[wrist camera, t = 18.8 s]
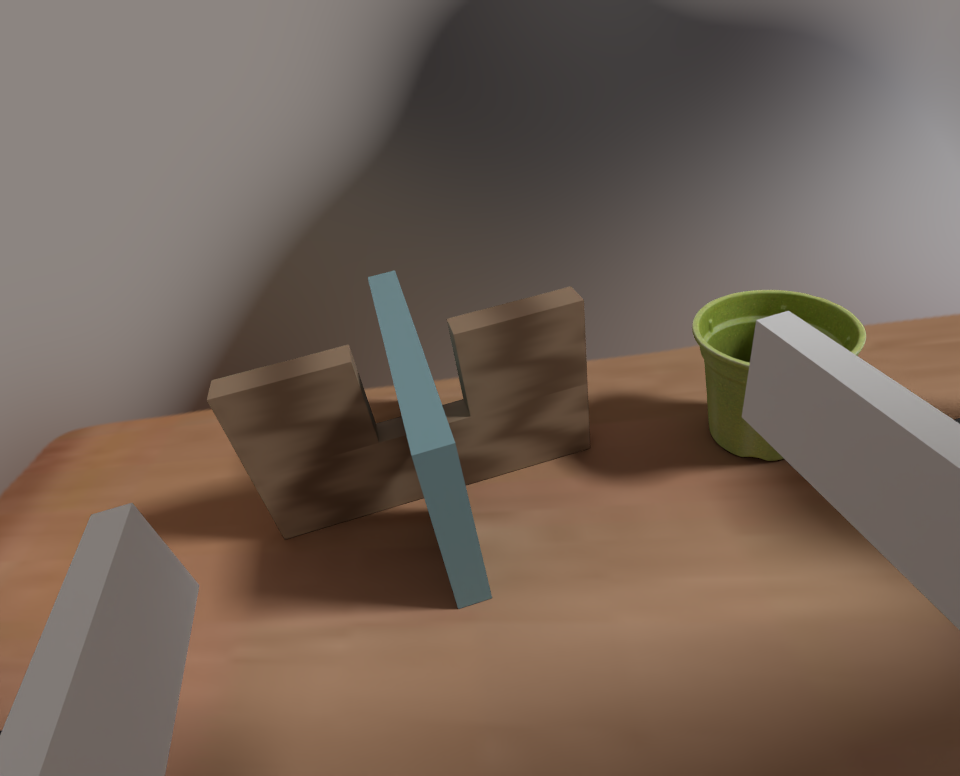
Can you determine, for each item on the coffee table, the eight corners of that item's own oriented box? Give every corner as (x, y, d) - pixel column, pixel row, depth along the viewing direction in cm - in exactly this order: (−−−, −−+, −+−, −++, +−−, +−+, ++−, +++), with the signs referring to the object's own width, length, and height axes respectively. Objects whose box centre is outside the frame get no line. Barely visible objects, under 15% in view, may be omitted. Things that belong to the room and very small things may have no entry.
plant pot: (655, 420, 42) (661, 319, 37) (754, 376, 44) (771, 275, 39) (755, 503, 35) (779, 391, 29) (866, 444, 37) (906, 331, 32)
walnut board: (579, 431, 42) (570, 286, 35) (590, 447, 40) (583, 300, 33) (285, 517, 39) (211, 380, 32) (284, 539, 38) (206, 400, 31)
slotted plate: (428, 399, 48) (394, 270, 41) (491, 597, 32) (455, 442, 25) (405, 405, 48) (367, 277, 41) (458, 608, 32) (411, 455, 25)
